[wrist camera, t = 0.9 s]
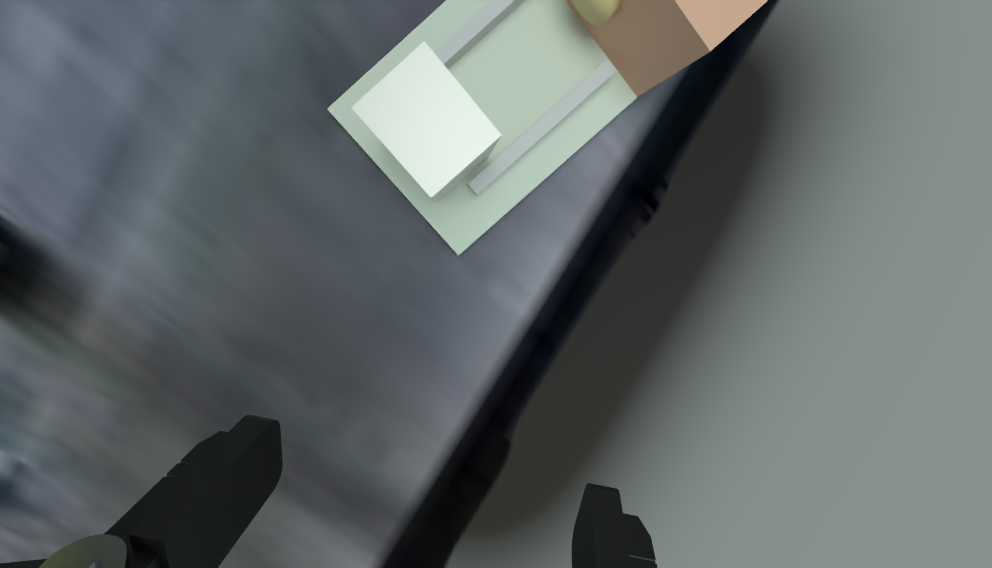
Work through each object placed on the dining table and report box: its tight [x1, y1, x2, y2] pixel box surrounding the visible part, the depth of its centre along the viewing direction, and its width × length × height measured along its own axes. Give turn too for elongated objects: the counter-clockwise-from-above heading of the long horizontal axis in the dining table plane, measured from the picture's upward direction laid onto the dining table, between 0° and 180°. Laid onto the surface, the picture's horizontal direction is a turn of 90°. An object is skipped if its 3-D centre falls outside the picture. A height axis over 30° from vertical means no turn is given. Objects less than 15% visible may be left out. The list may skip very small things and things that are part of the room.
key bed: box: [328, 0, 767, 256], centre depth 29 cm, size 22×14×12 cm, turn 131°
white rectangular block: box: [351, 41, 502, 202], centre depth 29 cm, size 5×6×10 cm
